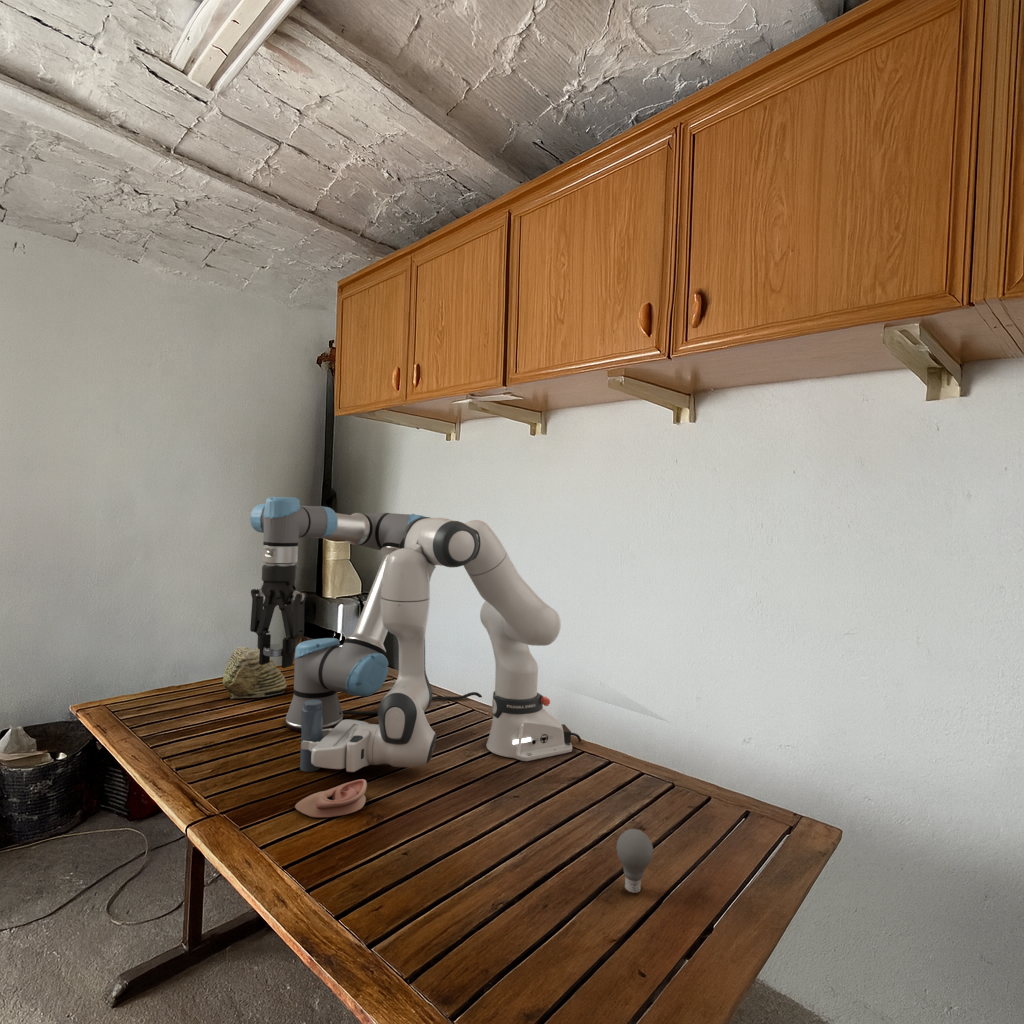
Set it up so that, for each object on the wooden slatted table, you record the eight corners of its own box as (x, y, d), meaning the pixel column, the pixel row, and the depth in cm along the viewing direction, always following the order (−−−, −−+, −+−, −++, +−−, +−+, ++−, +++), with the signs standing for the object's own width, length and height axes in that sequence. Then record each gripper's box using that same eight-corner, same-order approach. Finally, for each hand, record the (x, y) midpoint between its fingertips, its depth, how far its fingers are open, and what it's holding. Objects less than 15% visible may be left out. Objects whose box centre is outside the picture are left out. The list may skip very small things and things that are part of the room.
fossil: (218, 695, 195) (220, 647, 195) (278, 685, 208) (279, 640, 207) (228, 703, 189) (230, 653, 188) (289, 692, 201) (290, 645, 201)
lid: (283, 657, 142) (283, 649, 142) (258, 656, 142) (259, 648, 142) (292, 651, 148) (292, 644, 148) (268, 650, 148) (269, 643, 148)
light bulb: (610, 879, 108) (613, 822, 108) (644, 879, 109) (647, 822, 109) (619, 902, 102) (622, 840, 102) (655, 901, 103) (658, 840, 103)
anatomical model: (287, 793, 126) (316, 770, 137) (286, 813, 126) (315, 788, 137) (349, 803, 123) (373, 778, 134) (348, 823, 123) (373, 796, 134)
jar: (298, 764, 149) (301, 700, 149) (319, 762, 151) (322, 698, 151) (301, 773, 145) (303, 706, 144) (322, 770, 147) (325, 704, 146)
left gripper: (235, 562, 144) (230, 663, 144) (304, 568, 139) (299, 674, 139) (257, 560, 151) (253, 656, 152) (324, 565, 146) (319, 666, 146)
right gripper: (379, 715, 157) (325, 711, 158) (351, 746, 136) (289, 741, 138) (378, 740, 157) (324, 736, 158) (350, 775, 137) (288, 770, 138)
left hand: (275, 664), depth 145 cm, fingers closed on lid, 5 cm apart
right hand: (307, 739), depth 148 cm, fingers closed on jar, 5 cm apart
